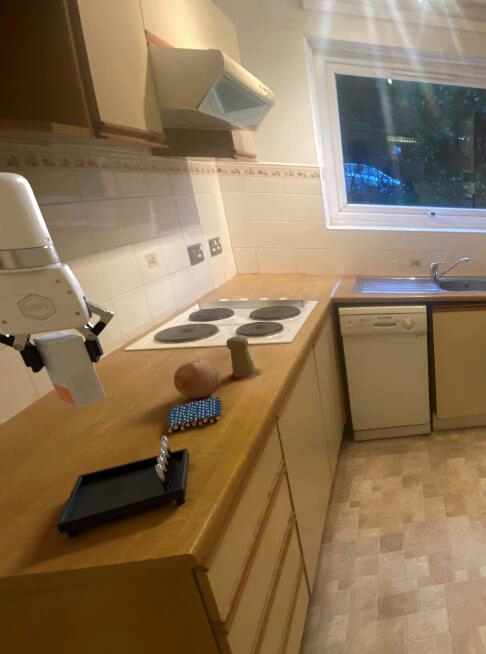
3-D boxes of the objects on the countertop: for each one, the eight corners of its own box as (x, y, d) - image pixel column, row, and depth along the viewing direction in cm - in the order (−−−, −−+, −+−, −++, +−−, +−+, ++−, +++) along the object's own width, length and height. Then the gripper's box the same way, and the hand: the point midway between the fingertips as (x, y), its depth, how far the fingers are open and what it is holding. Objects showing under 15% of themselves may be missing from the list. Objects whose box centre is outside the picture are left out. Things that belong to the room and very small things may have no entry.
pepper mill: (240, 379, 121) (231, 342, 117) (228, 374, 124) (218, 338, 120) (261, 371, 126) (253, 336, 122) (249, 367, 129) (240, 332, 125)
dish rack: (64, 541, 68) (43, 501, 65) (85, 490, 79) (68, 453, 76) (187, 503, 76) (174, 466, 73) (191, 461, 87) (180, 427, 84)
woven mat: (170, 413, 104) (167, 406, 103) (222, 402, 109) (219, 395, 108) (166, 434, 96) (163, 426, 95) (222, 420, 101) (220, 413, 100)
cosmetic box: (59, 402, 75) (30, 338, 71) (89, 392, 79) (64, 330, 74) (78, 409, 73) (49, 344, 69) (108, 398, 77) (83, 335, 72)
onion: (188, 389, 116) (177, 354, 112) (230, 385, 118) (220, 351, 114) (172, 406, 107) (159, 370, 103) (217, 402, 109) (206, 366, 105)
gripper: (-74, 269, 59) (-14, 385, 66) (93, 257, 68) (131, 361, 75) (-50, 260, 65) (3, 368, 72) (102, 250, 74) (136, 347, 81)
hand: (68, 364), depth 73 cm, fingers closed on cosmetic box, 6 cm apart
